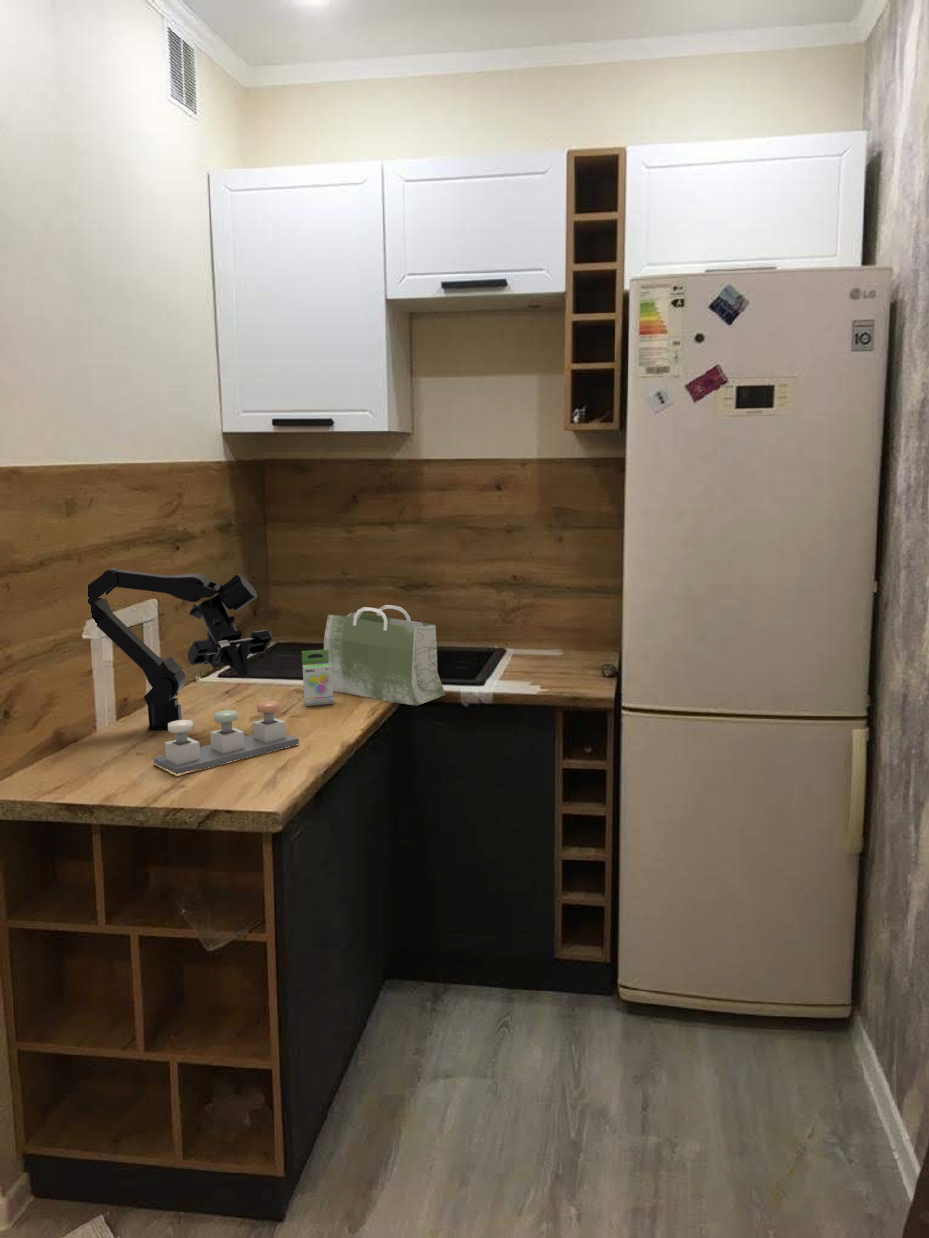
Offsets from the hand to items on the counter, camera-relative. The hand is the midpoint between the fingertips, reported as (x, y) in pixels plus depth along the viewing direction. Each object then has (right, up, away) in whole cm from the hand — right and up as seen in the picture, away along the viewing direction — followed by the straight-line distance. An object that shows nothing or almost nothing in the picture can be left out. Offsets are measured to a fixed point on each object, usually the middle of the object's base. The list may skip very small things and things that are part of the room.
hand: (245, 676), depth 207 cm
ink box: (+12, -9, +29) cm, 32 cm away
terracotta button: (+6, -10, -5) cm, 13 cm away
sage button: (-1, -11, -12) cm, 16 cm away
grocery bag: (+27, -7, +39) cm, 48 cm away
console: (-1, -16, -11) cm, 19 cm away
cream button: (-9, -13, -18) cm, 24 cm away
